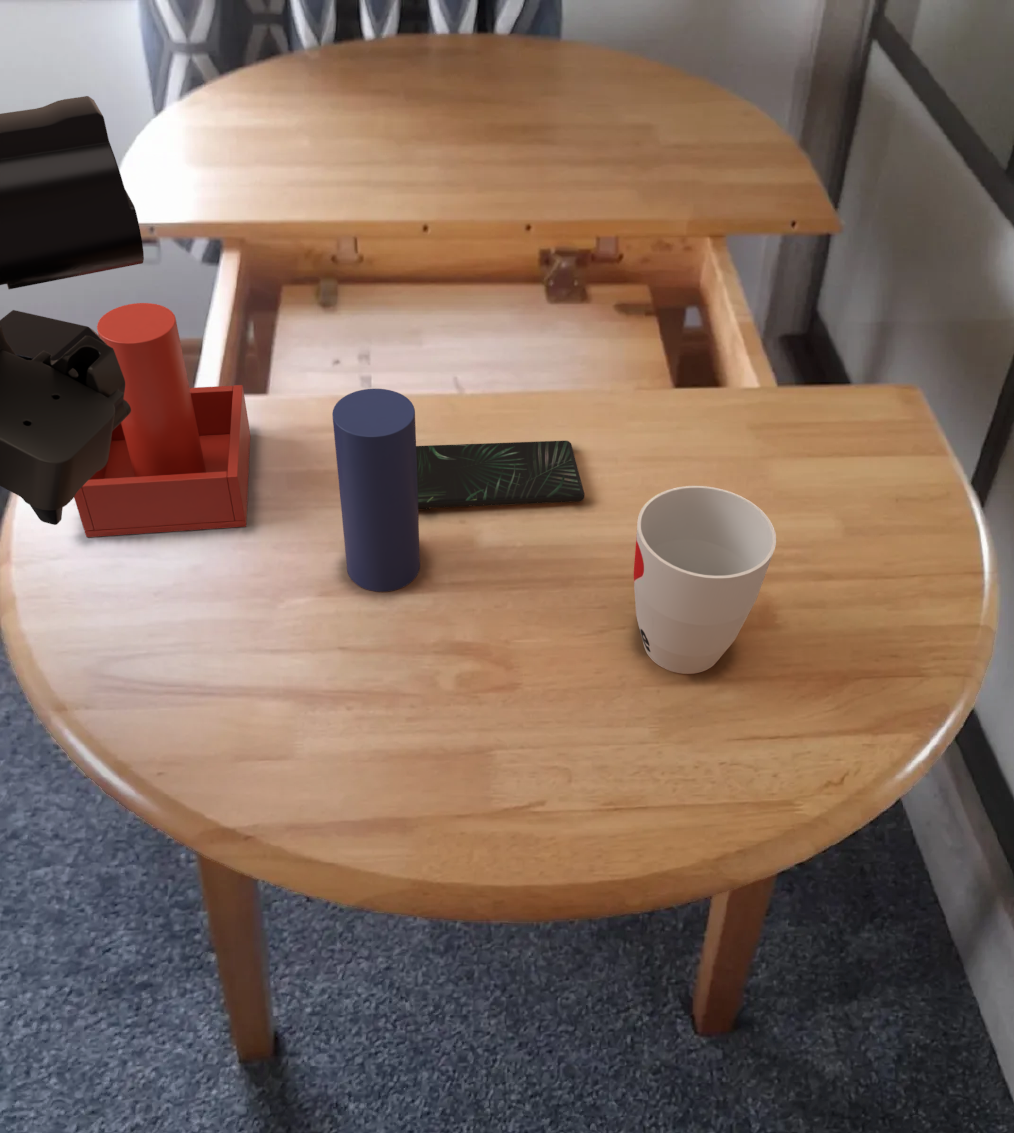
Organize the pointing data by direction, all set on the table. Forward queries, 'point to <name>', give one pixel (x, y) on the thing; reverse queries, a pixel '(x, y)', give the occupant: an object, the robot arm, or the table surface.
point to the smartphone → (497, 474)
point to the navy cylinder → (378, 487)
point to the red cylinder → (154, 390)
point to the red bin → (176, 478)
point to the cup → (697, 573)
